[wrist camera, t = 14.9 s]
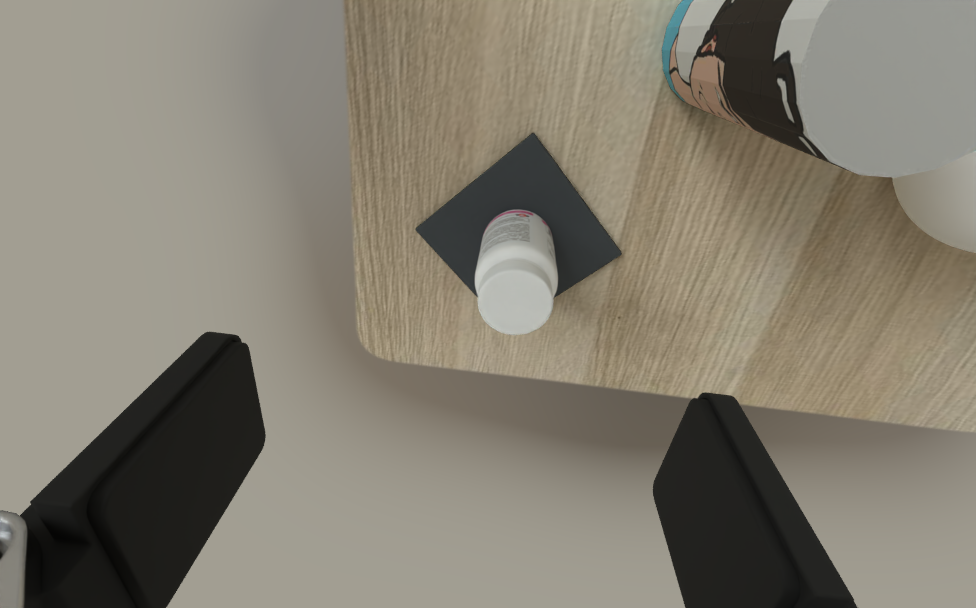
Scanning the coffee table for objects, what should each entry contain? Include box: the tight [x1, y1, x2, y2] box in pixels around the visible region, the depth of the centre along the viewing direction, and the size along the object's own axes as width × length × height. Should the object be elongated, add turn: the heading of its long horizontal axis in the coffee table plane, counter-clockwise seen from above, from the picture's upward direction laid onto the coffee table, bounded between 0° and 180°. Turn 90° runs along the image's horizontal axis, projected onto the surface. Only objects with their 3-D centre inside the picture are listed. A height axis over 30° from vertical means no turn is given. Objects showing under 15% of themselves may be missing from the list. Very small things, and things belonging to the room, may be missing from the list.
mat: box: [416, 133, 622, 297], centre depth 32 cm, size 10×10×1 cm
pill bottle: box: [475, 210, 558, 335], centre depth 28 cm, size 5×5×8 cm
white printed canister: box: [662, 0, 976, 178], centre depth 19 cm, size 7×7×15 cm
